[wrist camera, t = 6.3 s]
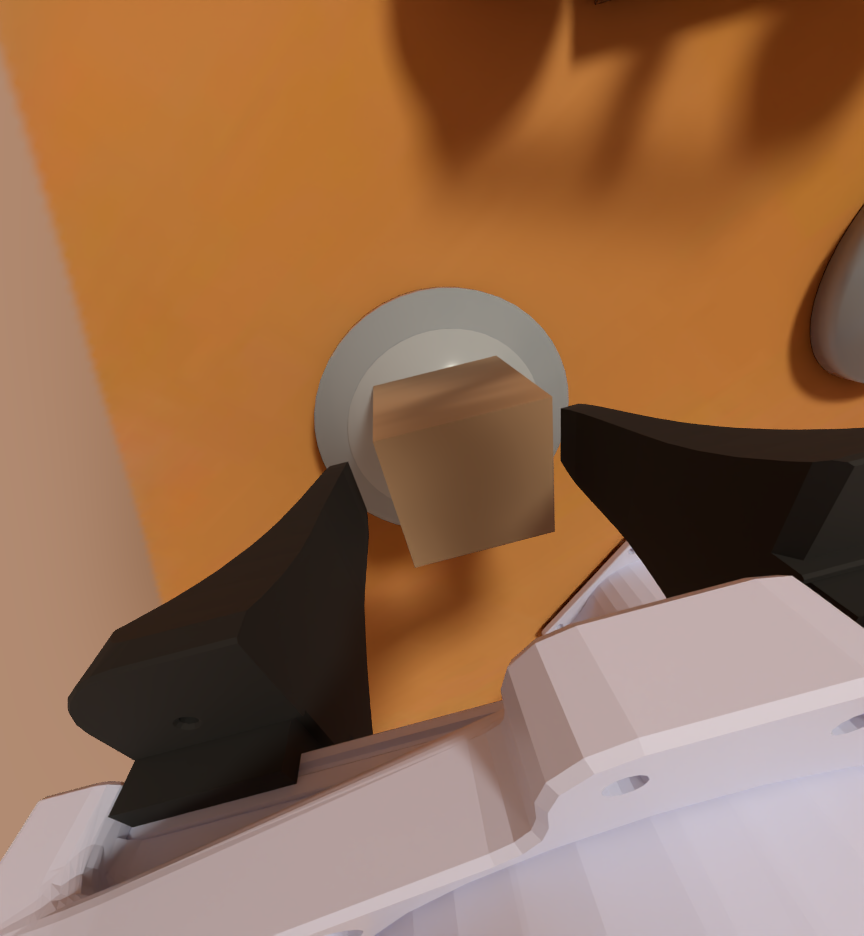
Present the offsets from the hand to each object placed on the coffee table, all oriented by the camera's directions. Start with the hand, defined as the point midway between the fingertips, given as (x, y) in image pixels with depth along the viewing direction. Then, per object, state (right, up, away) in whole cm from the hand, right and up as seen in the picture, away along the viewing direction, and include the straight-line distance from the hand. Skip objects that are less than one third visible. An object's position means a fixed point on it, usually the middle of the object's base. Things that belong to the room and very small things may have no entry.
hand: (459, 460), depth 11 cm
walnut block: (0, +1, +2) cm, 2 cm away
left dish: (0, +2, +3) cm, 3 cm away
